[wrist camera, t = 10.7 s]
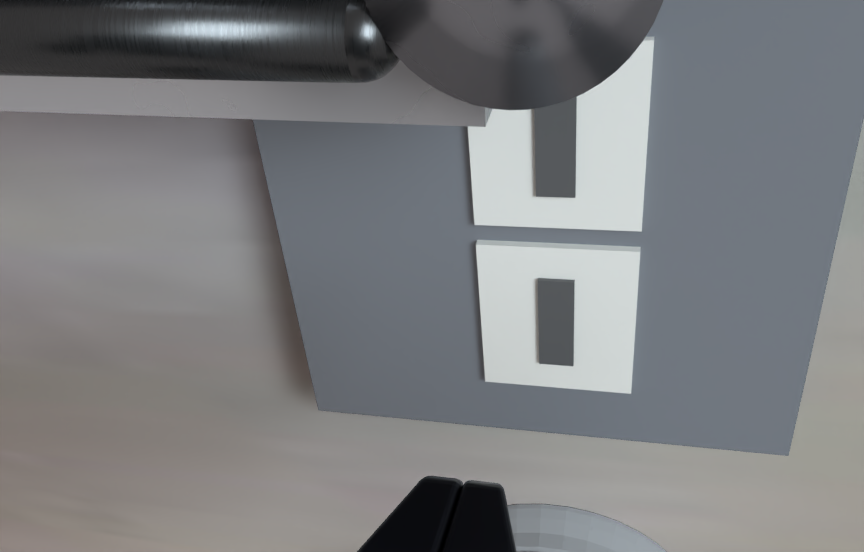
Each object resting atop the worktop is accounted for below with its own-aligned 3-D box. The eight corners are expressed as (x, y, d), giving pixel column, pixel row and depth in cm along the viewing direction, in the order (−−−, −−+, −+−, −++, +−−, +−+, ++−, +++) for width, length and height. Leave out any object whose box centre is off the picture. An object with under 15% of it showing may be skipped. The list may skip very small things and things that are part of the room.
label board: (780, 412, 21) (790, 465, 19) (335, 374, 24) (314, 417, 22) (938, -350, 12) (975, -356, 11) (204, -270, 15) (156, -266, 14)
